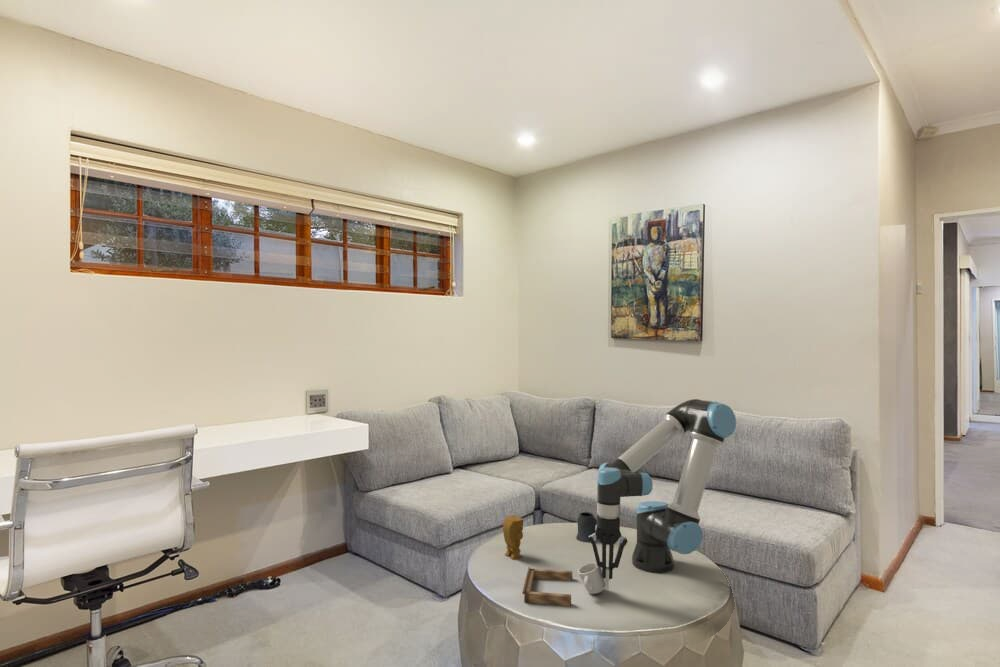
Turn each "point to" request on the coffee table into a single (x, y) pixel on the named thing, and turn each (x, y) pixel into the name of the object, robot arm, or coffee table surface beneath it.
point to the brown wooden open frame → (546, 597)
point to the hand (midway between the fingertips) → (606, 588)
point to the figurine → (513, 535)
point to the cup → (592, 577)
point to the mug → (586, 526)
